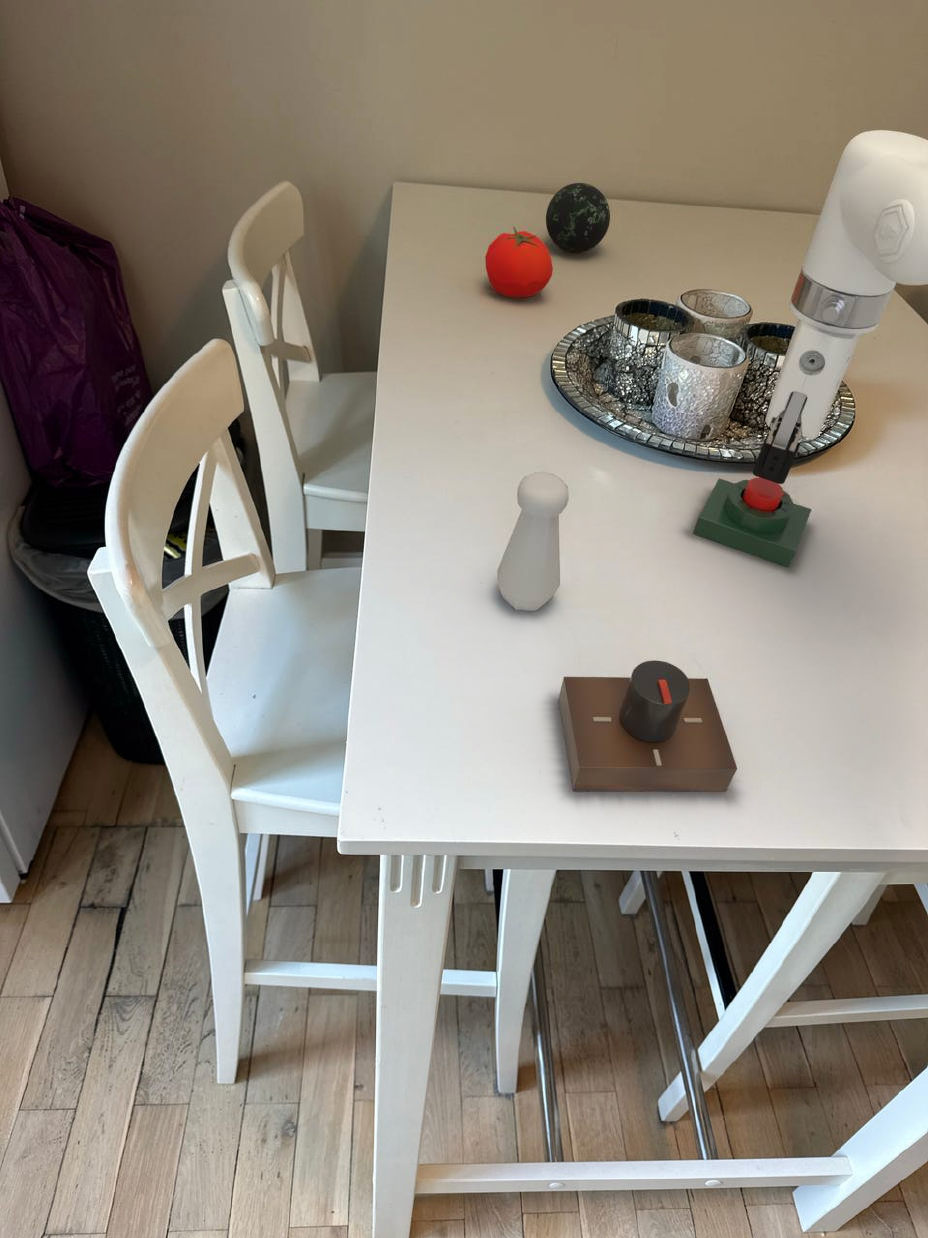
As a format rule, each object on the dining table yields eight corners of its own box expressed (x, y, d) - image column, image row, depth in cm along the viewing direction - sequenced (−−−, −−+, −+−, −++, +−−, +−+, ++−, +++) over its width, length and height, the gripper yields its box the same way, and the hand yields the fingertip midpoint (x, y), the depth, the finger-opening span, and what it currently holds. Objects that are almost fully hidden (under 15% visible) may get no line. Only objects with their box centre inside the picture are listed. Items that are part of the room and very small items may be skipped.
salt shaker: (557, 620, 80) (582, 506, 71) (494, 616, 80) (511, 500, 71) (553, 577, 84) (576, 464, 75) (494, 573, 84) (510, 459, 75)
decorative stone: (603, 241, 145) (615, 177, 138) (603, 266, 138) (616, 199, 131) (542, 234, 145) (551, 170, 138) (540, 258, 138) (549, 191, 131)
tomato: (503, 272, 133) (509, 215, 127) (561, 293, 130) (570, 235, 124) (468, 291, 127) (473, 232, 122) (528, 314, 124) (537, 254, 118)
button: (781, 498, 90) (787, 484, 89) (773, 517, 88) (779, 502, 87) (747, 487, 91) (752, 473, 90) (738, 505, 89) (743, 490, 88)
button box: (804, 525, 93) (818, 494, 90) (788, 567, 88) (802, 536, 85) (713, 494, 96) (723, 463, 93) (692, 533, 91) (703, 502, 88)
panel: (698, 701, 74) (708, 676, 72) (726, 791, 68) (738, 767, 66) (557, 700, 73) (563, 674, 71) (573, 791, 67) (580, 766, 65)
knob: (614, 698, 70) (627, 656, 66) (668, 698, 70) (684, 657, 67) (624, 742, 67) (638, 701, 63) (681, 743, 67) (698, 702, 64)
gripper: (870, 345, 69) (790, 529, 81) (895, 278, 78) (820, 452, 91) (776, 318, 71) (712, 502, 84) (812, 257, 80) (750, 429, 93)
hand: (769, 475), depth 87 cm, fingers closed
